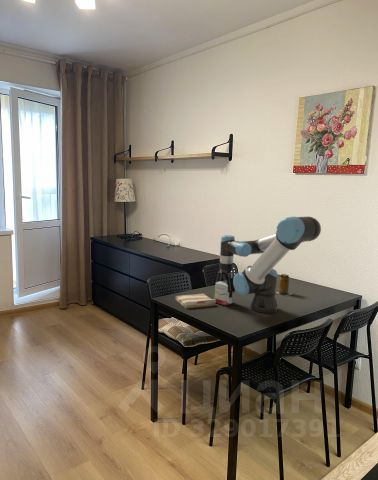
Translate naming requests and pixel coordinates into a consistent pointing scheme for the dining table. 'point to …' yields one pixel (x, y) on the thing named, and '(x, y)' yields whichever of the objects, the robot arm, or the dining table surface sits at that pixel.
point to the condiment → (284, 285)
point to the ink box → (222, 293)
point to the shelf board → (195, 300)
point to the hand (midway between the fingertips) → (224, 299)
